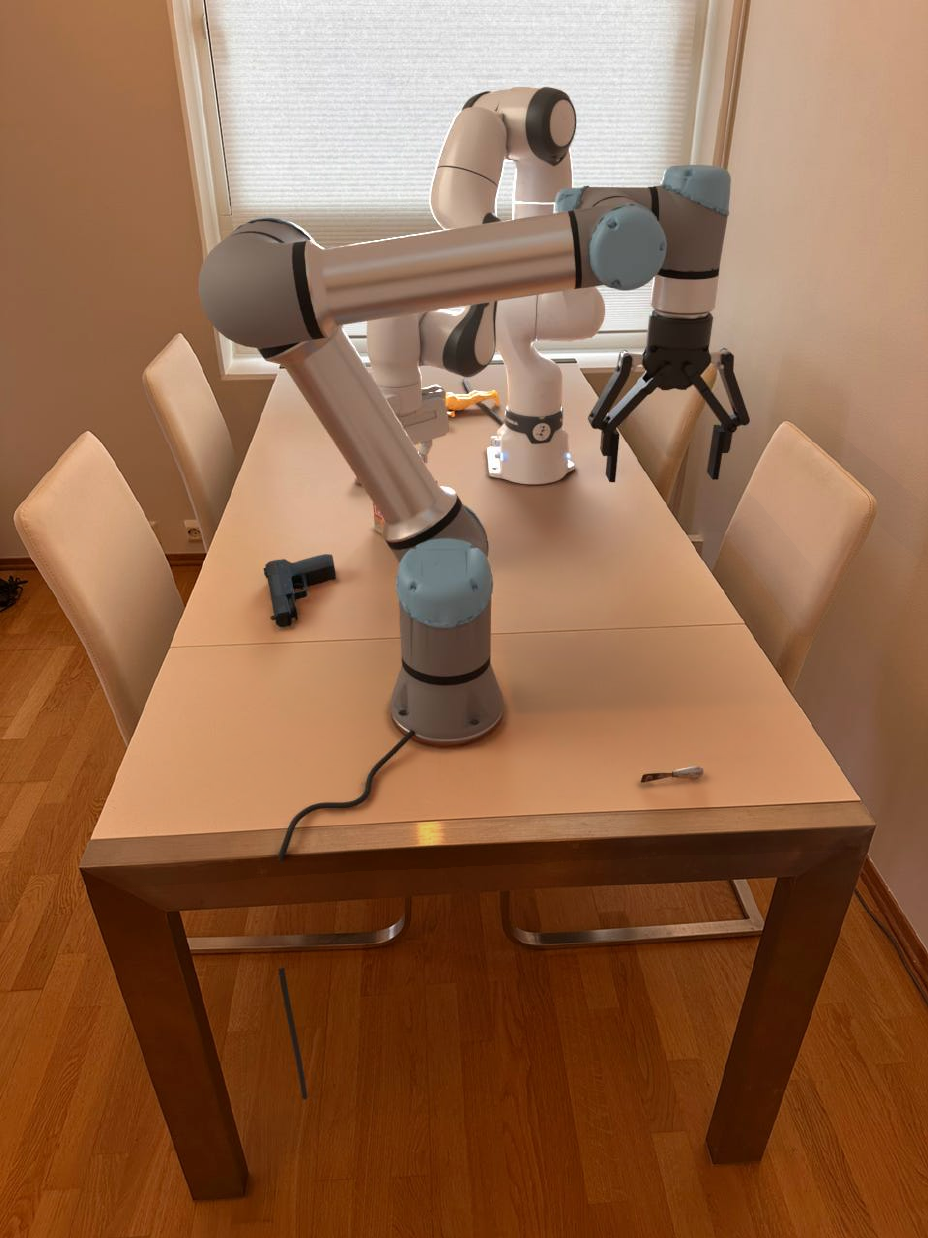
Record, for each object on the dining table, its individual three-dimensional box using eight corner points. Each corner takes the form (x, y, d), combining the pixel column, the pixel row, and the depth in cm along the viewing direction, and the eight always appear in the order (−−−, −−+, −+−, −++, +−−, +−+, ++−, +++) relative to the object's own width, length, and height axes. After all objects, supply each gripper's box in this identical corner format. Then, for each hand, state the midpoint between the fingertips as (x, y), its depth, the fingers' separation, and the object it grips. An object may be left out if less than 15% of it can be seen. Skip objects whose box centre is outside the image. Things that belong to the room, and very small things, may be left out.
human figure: (395, 413, 223) (394, 398, 221) (438, 390, 237) (438, 375, 235) (462, 429, 215) (462, 413, 213) (502, 404, 229) (503, 388, 227)
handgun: (348, 619, 141) (272, 630, 139) (332, 566, 156) (262, 576, 153) (347, 602, 140) (269, 613, 137) (331, 550, 154) (260, 559, 151)
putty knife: (703, 777, 109) (705, 767, 109) (642, 788, 108) (644, 777, 107) (700, 772, 110) (702, 762, 109) (639, 782, 109) (640, 771, 108)
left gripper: (773, 301, 110) (745, 463, 121) (572, 305, 109) (563, 468, 120) (796, 316, 104) (764, 485, 115) (582, 320, 103) (571, 490, 114)
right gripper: (434, 378, 160) (436, 450, 168) (336, 403, 150) (343, 479, 157) (455, 387, 156) (456, 460, 164) (356, 414, 146) (363, 491, 153)
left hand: (661, 477), depth 118 cm, fingers open, 13 cm apart
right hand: (400, 470), depth 161 cm, fingers open, 8 cm apart
